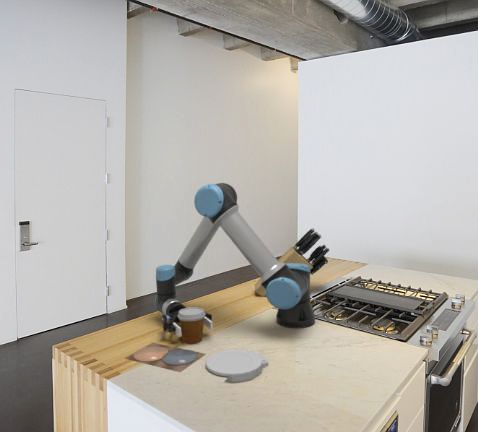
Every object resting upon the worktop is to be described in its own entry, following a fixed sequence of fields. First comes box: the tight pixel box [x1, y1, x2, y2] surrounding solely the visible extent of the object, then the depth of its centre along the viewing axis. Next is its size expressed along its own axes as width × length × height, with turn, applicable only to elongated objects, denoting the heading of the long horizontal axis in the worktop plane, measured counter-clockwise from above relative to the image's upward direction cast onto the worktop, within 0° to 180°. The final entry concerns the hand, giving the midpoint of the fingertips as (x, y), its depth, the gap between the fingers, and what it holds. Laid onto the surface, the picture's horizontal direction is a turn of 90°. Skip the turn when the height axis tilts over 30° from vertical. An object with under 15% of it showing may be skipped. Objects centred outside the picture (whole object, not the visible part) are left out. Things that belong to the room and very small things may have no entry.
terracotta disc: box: [133, 346, 168, 362], centre depth 142 cm, size 11×11×1 cm
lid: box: [205, 348, 269, 383], centre depth 134 cm, size 17×20×3 cm
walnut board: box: [123, 342, 207, 373], centre depth 140 cm, size 22×14×2 cm, turn 61°
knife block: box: [254, 227, 330, 297], centre depth 210 cm, size 11×35×31 cm, turn 89°
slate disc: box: [162, 348, 197, 366], centre depth 139 cm, size 11×11×1 cm
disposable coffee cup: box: [178, 306, 206, 345], centre depth 152 cm, size 10×10×12 cm
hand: (196, 329), depth 149 cm, fingers open, 11 cm apart
